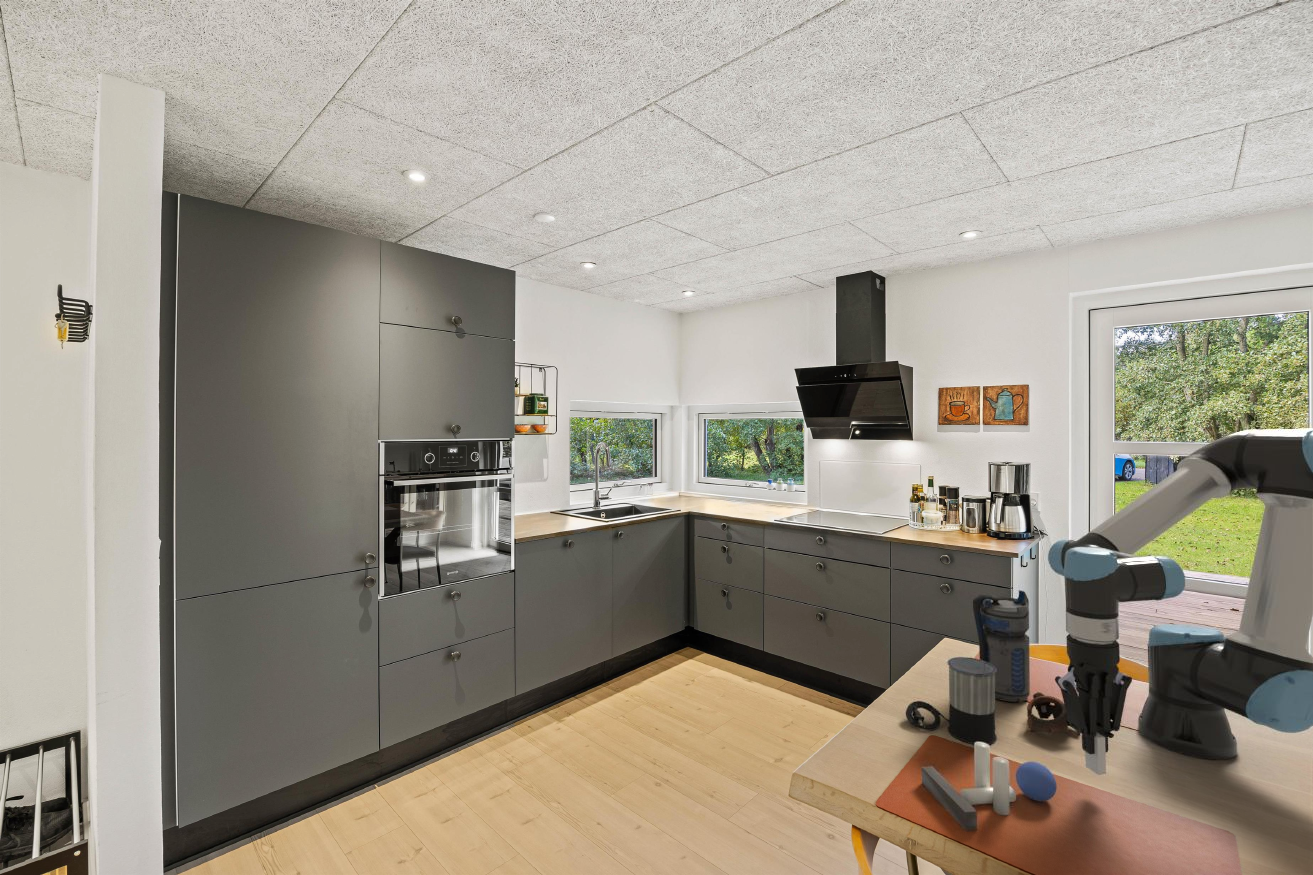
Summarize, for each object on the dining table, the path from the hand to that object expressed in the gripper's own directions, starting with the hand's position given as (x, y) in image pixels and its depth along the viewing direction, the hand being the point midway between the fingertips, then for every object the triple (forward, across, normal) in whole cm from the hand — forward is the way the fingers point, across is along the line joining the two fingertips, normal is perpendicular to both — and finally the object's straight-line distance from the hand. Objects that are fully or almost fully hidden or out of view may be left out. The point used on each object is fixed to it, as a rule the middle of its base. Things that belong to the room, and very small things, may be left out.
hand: (1095, 769), depth 105 cm
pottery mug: (+5, +9, +22) cm, 24 cm away
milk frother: (+4, -12, +24) cm, 27 cm away
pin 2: (+4, -20, -2) cm, 20 cm away
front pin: (+3, -16, 0) cm, 16 cm away
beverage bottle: (+5, +9, +38) cm, 39 cm away
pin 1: (+4, -20, +2) cm, 20 cm away
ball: (+1, -11, 0) cm, 11 cm away
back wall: (+4, -28, 0) cm, 28 cm away
